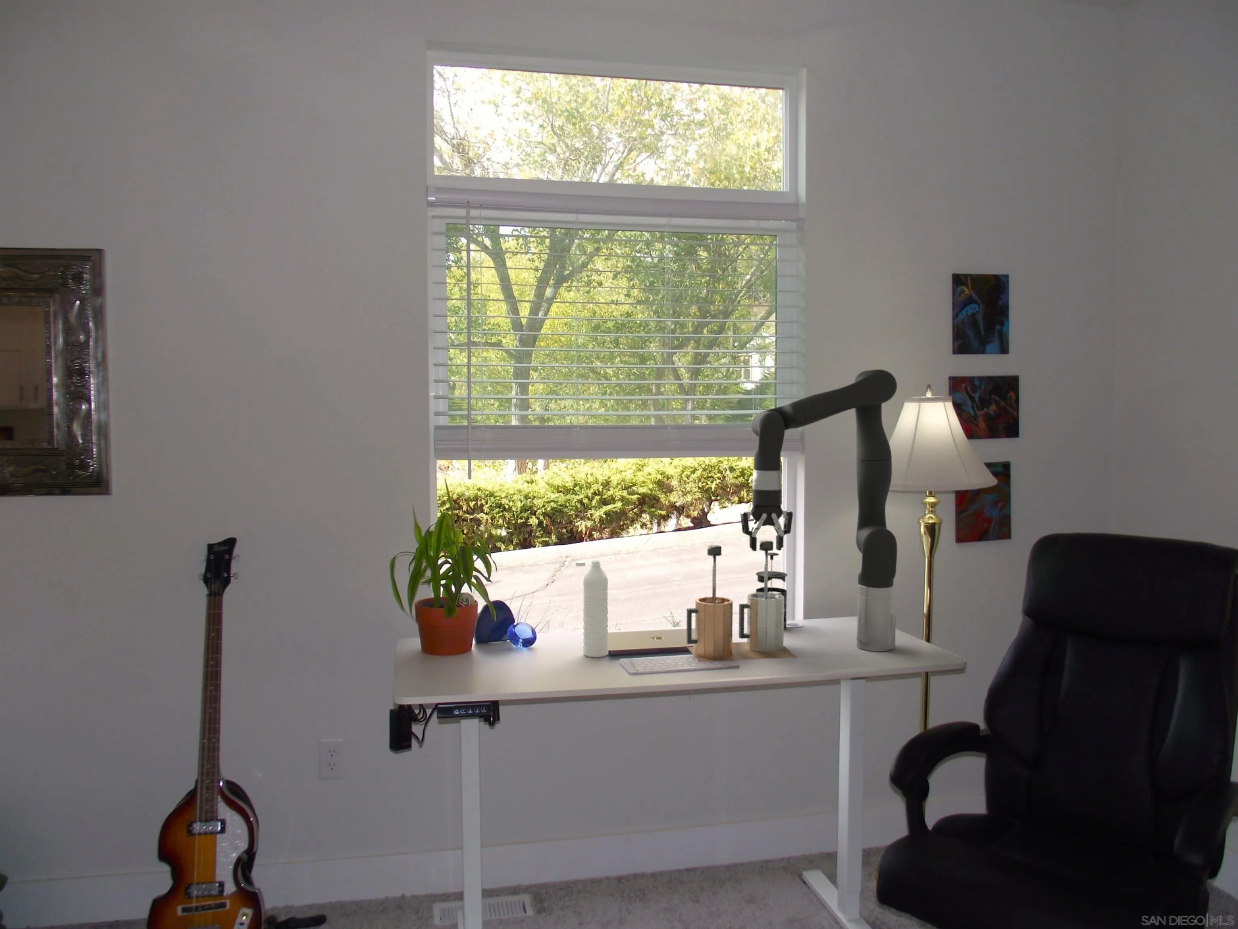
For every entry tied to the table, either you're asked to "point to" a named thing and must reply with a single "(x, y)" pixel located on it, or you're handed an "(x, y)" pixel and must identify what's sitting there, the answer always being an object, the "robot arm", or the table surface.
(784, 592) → the french press
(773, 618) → the steel carafe
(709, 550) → the black knob plunger
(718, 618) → the copper carafe
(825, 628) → the table surface
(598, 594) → the water bottle
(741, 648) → the board
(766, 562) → the steel plunger
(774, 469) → the robot arm
